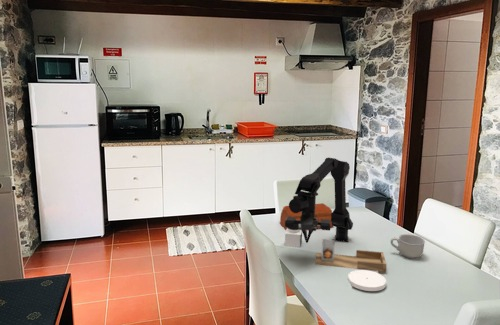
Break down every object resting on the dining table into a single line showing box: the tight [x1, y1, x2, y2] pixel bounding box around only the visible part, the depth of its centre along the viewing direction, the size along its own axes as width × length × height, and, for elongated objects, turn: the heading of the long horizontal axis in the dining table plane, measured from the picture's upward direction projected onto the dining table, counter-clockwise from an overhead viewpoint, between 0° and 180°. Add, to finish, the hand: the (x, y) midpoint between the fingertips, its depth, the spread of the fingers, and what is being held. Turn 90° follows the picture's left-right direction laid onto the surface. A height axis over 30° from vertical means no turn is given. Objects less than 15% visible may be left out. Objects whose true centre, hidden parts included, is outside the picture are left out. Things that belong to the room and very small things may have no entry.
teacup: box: [390, 233, 426, 259], centre depth 183 cm, size 14×11×8 cm
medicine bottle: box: [284, 224, 303, 248], centre depth 191 cm, size 7×7×12 cm
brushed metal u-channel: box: [321, 238, 336, 263], centre depth 175 cm, size 5×5×8 cm
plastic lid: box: [347, 269, 387, 292], centre depth 158 cm, size 14×14×2 cm
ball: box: [324, 251, 331, 258], centre depth 176 cm, size 3×3×3 cm
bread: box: [279, 203, 334, 231], centre depth 219 cm, size 16×27×11 cm, turn 104°
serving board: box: [314, 249, 387, 275], centre depth 174 cm, size 12×28×4 cm, turn 78°
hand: (306, 242), depth 176 cm, fingers closed
